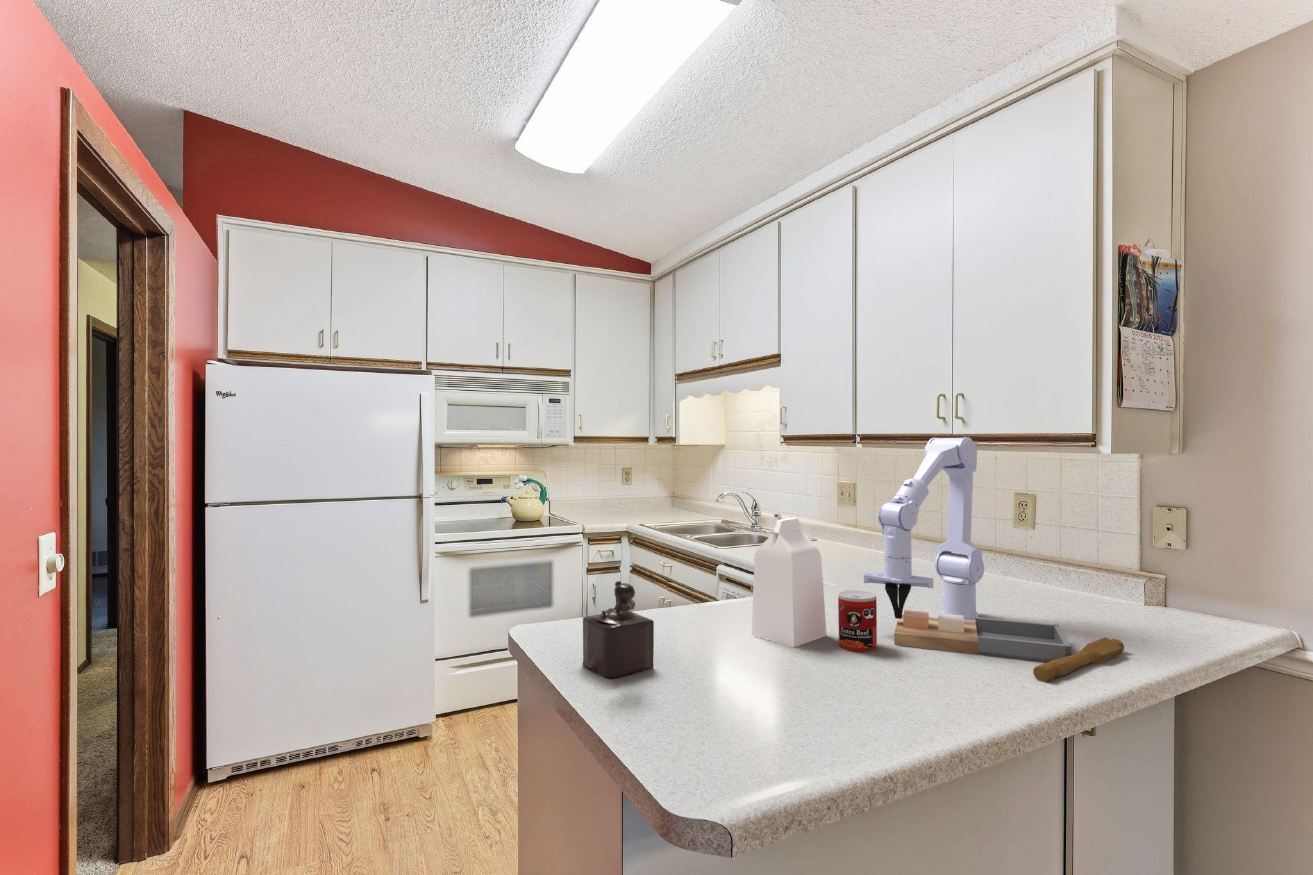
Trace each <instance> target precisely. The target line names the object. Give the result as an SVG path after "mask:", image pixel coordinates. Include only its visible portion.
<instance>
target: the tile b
mask: <svg viewBox="0 0 1313 875" xmlns="http://www.w3.org/2000/svg"><path fill="white" fill-rule="evenodd" d="M937 616H938V617H937V618H938V631H948V632H958V633H964V616H963V615H954V614H943V613H942V612H940V613H938V614H937Z"/></svg>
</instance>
